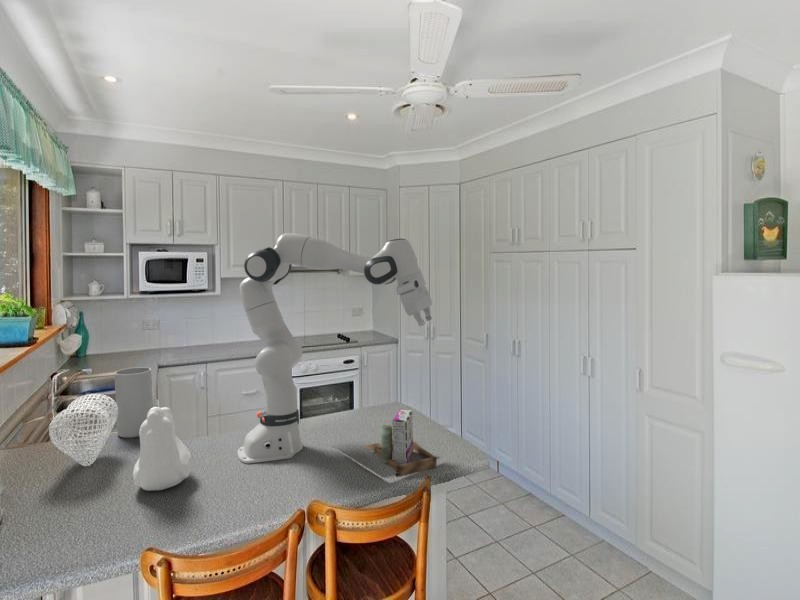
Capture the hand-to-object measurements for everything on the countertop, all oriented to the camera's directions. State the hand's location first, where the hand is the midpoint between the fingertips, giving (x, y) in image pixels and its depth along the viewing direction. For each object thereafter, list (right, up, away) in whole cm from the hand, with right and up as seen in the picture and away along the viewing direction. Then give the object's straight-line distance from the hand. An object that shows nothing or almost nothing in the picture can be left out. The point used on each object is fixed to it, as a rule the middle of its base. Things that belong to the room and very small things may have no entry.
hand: (425, 322), depth 154 cm
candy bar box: (-8, -47, 0) cm, 48 cm away
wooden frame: (-7, -47, 0) cm, 47 cm away
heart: (-113, -48, -2) cm, 122 cm away
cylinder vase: (-114, -45, +28) cm, 126 cm away
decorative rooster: (-81, -48, -12) cm, 95 cm away
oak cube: (-10, -44, +13) cm, 47 cm away
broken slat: (-14, -46, +11) cm, 49 cm away
